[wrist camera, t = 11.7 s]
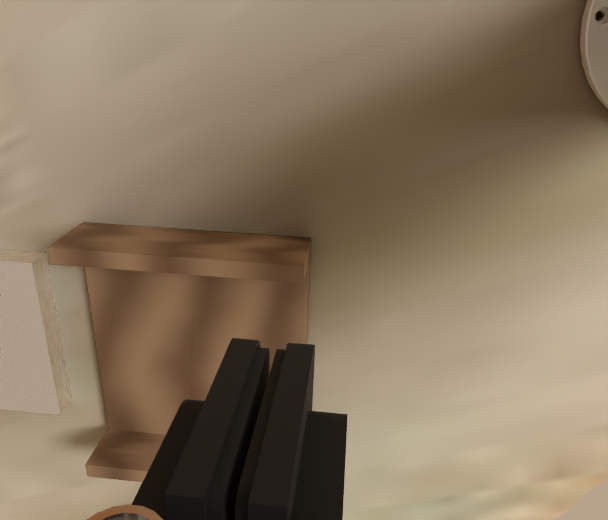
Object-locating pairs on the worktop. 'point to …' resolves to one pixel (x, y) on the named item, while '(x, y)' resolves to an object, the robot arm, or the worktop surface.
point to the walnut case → (177, 320)
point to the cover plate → (30, 337)
